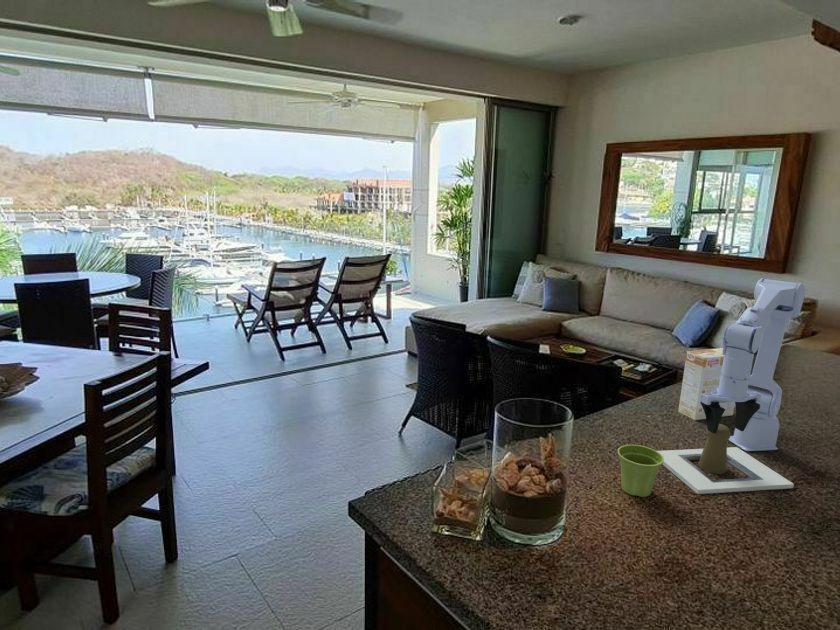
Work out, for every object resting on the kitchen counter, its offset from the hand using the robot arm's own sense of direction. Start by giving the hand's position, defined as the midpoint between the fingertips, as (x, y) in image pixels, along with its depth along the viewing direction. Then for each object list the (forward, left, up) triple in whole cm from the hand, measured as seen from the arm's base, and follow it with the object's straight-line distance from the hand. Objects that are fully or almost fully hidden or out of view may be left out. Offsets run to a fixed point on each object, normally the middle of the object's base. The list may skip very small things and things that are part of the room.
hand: (725, 430), depth 127 cm
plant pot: (+25, +6, -11) cm, 28 cm away
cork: (0, -2, -11) cm, 11 cm away
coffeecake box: (-20, -32, -11) cm, 39 cm away
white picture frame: (0, 0, -10) cm, 10 cm away
